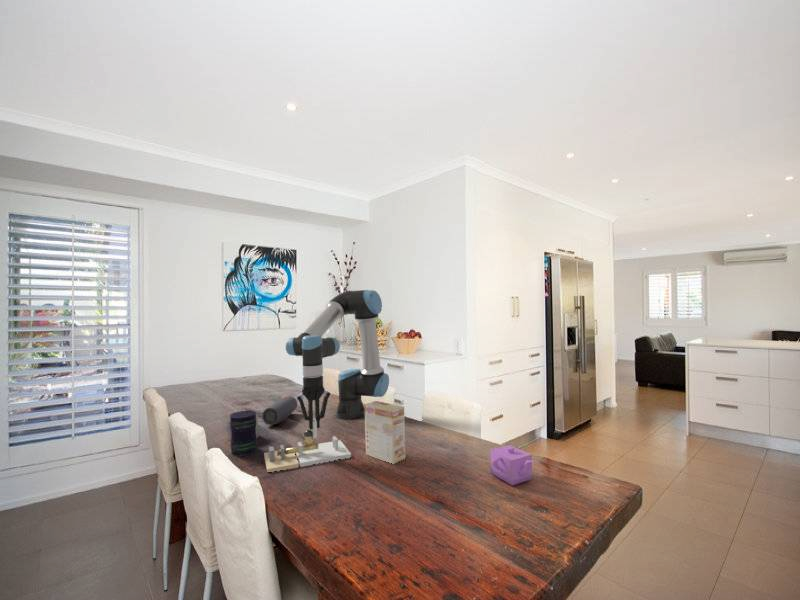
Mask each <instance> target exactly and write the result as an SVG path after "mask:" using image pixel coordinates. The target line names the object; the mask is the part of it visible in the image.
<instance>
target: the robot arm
mask: <svg viewBox="0 0 800 600" xmlns="http://www.w3.org/2000/svg"><path fill="white" fill-rule="evenodd" d="M382 301H383V300H382V298H381V296H380V294H379V293H378V292H377V291H376V290H371V289H364V290H363V289H362V290H361V289H360V290H347V291H343V292H341V293H339V294H337V295H336V296H334V297H333V298H332V299H331V300H329V302H327V304H326V306H325V308H324V310H322V312H320V314H318V315H317V317H316V318H315V319H314V320H313V321H312V322H311V323H310V324H309V325H308V326H307V327H306V328H305V329H304V330H303V331H302V332H301V333H300V334H299V335H298V336H297V337H289V338H288V339H287V341H286V342H285V351H286V353H287V354H288V355H289V356H296V357H301V358H302V376H303V377H302V391H301V393H299V394H297V395H296V396H295V397H296V400H298V401H299V405H300V410H301V412H302V415H303V419H304V420H305V421H308V428H309V430H311V431H312V433H313V435H312V436H313V440H314V439H317V438H318V429H320V426H321V425H320V424H321V423H320V421H321V420H322V419H324V418H325V415H326V411H327V406H328V400H329V398H330V396H331V392H329V391H327V390H325V389H326V388H325V387H324V376H323V374H324V371H323V370H324V369H323V367H324V365H323V359H324V358H327V357H333V356H334V355H336V354H338V353H339V352H340V348H341V347H340V346H341V345H340V341H339V340H338V339H337V338H335V337H331V336H330V337H329V336H328V337H323V336H324V334H326V332H328V330H329V329H331V327H332V326H333V325H334V323H336V321H337V320H338V319H342V318H343V317H344V316H346V315H354V319H355V320H356V322H358V329H359V330H358V331H359V341H360V348H361V357H362V360H361V361H362V369H360V368H353V369H352V368H351V369H348V370H347V369H346V370H342V371H341V372H339V373H338V374H337V375H338V376H337V377H338V379H337V383H338V385H337V386H338V403H337V407H336V410H335V417H336V418H338V419H343V420H351V419H352V420H353V419H358V418H361V417H363V416H364V417H365V404H364V403H363V400H362V397H372V398H382V397H384V396H385V395H386V394H387V392H388V389H389V386H390V385H389V384H390V376H389V374H388V373H386V372H385V371H384V367H382V366H381V359H380V358H381V357H380V352H379V351H380V350H379V340H378V339H379V338H378V329H377V320H378V318H379V314H381V312H382V308H383V302H382ZM322 396H323V399H322V403H321V407H320V399H321V397H322ZM304 397H305V398H306V400H307V404H308V406H307V407H308V409H307V408H306V406H305V403H304ZM313 401H314V402H313ZM313 403H314V406H313ZM313 407H314V409H313ZM306 409H307V410H308V413H307V410H306ZM313 411H314V412H313ZM314 415H315V418H314Z"/></svg>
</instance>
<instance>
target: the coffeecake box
mask: <svg viewBox="0 0 800 600" xmlns="http://www.w3.org/2000/svg"><path fill="white" fill-rule="evenodd" d="M364 408H365V415H364V434H365V436H364V437H365V455H366V456H368V457H369V456H370V457H372V458H375V459H378V460H381V461H383V462H385V461H386V463H388V462H389V463H388V464H391V463H392V464H391V465H396V464H397V463H399V461H400V462H401V460H402V461H404V460H406V459H405V458H406V433H405V432H406V431H405V430H406V428H405V406H403V405H398V404H393V403H389V402H383V401H379V400H375V401H372V402H369V403H365V404H364ZM403 459H404V460H403Z"/></svg>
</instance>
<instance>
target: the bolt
mask: <svg viewBox="0 0 800 600" xmlns="http://www.w3.org/2000/svg"><path fill="white" fill-rule="evenodd" d="M303 435H304V445H303V451H309V450H315V449H318V448H319V447H318V444H319V443H313V442H314V439H313V436H312V435H313V433H312V429H311V430H310V429H306V430H305V431H304V434H303ZM276 451H277V456H280V455H281V450H280V449H277V450H276ZM298 452H299V447H298V446H296V447H288V448H285V455H286V454H292V453H298Z"/></svg>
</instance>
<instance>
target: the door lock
mask: <svg viewBox="0 0 800 600" xmlns="http://www.w3.org/2000/svg"><path fill="white" fill-rule="evenodd" d="M331 438H332V441H328V442H320V443H317V444H318V447H319V448H318V449H315V450H309V451H303V446H304V445H303V444H302V441H298V442H297V447H299V452H298V453H292V454H286V455H285V449H286V448H285V445H284V444H280V445H279V450H281V455H280V456H277V450H275V448H274V446H268V452H264V453H263V456H264V457H263V458H264V463H265V467H266V473H267V472H272V473H275V472H274V471H277V472H281V471H280V470H283V471H287V469H288V470H293V469H298V467H299V468H303V467H304V468H305V467H307V466H314V465H313V464H315V465H320V464H323V463H324V462H325V463H329V461H330V462H335V461H334V460H336V461H339V460H338V459H341V460H346V459H350V457H351V458H352V453H351V452H350V450H349V449H348V448H347V447H346V445H345V444H344V442H343V441H341V439H338V438H337V436H336V435H334V436H332V437H331ZM295 454H296V455H295ZM345 458H346V459H345ZM297 459H298V460H297ZM319 463H320V464H319Z"/></svg>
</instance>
